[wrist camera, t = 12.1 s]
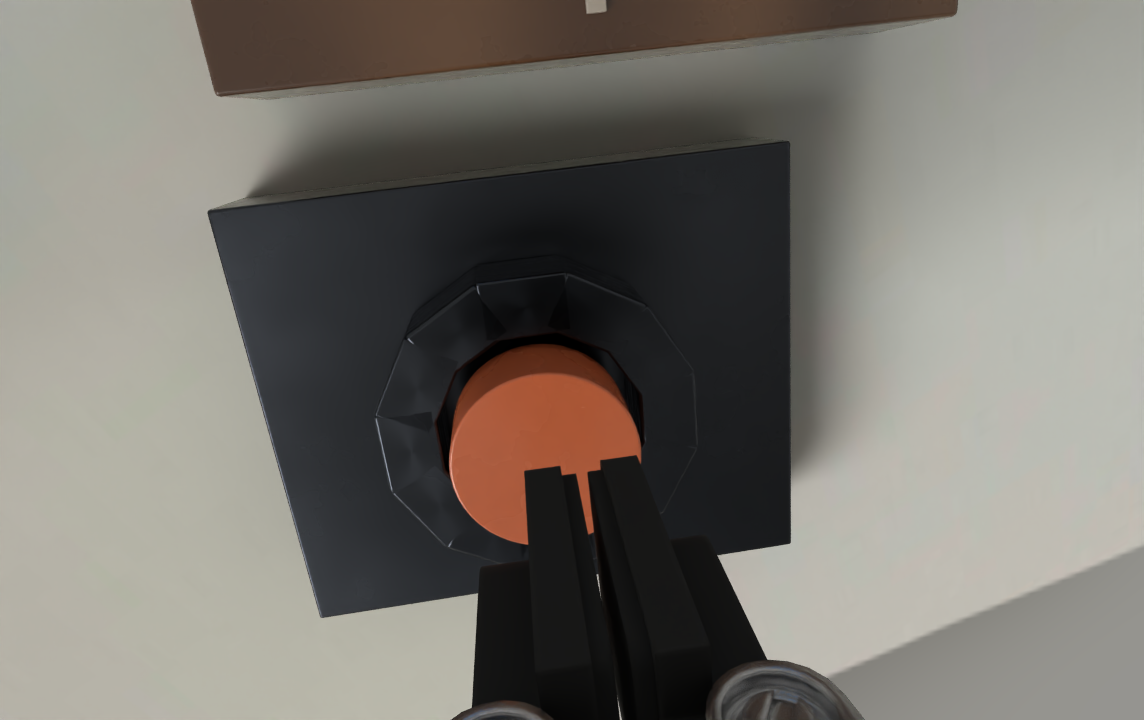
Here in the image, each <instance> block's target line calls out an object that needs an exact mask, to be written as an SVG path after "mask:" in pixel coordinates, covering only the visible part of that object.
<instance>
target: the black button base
mask: <svg viewBox="0 0 1144 720" xmlns="http://www.w3.org/2000/svg"><path fill="white" fill-rule="evenodd" d="M208 217H209V220H210V224H211V227H212V231H213V234H214V238H215V242H216V245H217V249H218V252H219V256H220V260H221V263H222V267H223V270H224V274H225V277H226V281H227V285H228V288H229V292H230V295H231V299H232V302H233V306H234V310H235V313H236V317H237V320H238V324H239V327H240V331H241V335H242V338H243V342H244V345H245V349H246V353H247V356H248V360H249V363H250V367H251V370H252V374H253V378H254V381H255V385H256V388H257V392H258V395H259V399H260V403H261V406H262V410H263V413H264V417H265V420H266V424H267V428H268V431H269V435H270V438H271V442H272V446H273V449H274V453H275V456H276V460H277V463H278V467H279V471H280V474H281V478H282V481H283V485H284V488H285V492H286V496H287V499H288V503H289V506H290V510H291V513H292V517H293V521H294V524H295V528H296V531H297V535H298V539H299V542H300V546H301V549H302V553H303V556H304V560H305V564H306V567H307V571H308V574H309V578H310V581H311V585H312V589H313V592H314V596H315V599H316V603H317V606H318V610H319V614H320V617H321V618H324V617H331V616H337V615H343V614H350V613H356V612H362V611H369V610H375V609H381V608H388V607H394V606H400V605H406V604H413V603H419V602H425V601H432V600H438V599H444V598H451V597H457V596H463V595H470V594H476V593H478V589H479V574H480V568H481V567H483V566H490V565H497V564H504V563H511V562H518V561H525V560H529V551H528V545H527V544H521V543H517V542H513V541H509V540H507V539H504V538H501V537H499V536H497V535H495V534H493V533H491V532H490V531H488V530H487V529H485V528H484V527H482V526H481V525H480V524H479V523H477V522H476V521H475V520H474V519H473V518H472V517H471V516H470V515H469V513H468V512H467V511H466V510H465V509H464V507H463V506H462V504H461V502H460V501H459V499H458V497H457V495H456V493H455V490H454V488H453V485H452V481H451V477H450V469H449V453H450V445H451V437H452V429H453V421H454V414H455V409H456V405H457V402H458V399H459V396H460V394H461V392H462V390H463V388H464V386H465V385H466V384H467V382H468V381H469V379H470V378H471V377H472V376H473V374H474V373H475V372H476V371H477V370H478V369H479V368H480V367H481V366H483V365H484V364H485V363H486V362H487V361H489V360H491V359H492V358H494V357H495V356H497V355H499V354H501V353H503V352H505V351H507V350H510V349H513V348H516V347H520V346H525V345H530V344H555V345H560V346H565V347H569V348H572V349H575V350H577V351H579V352H582V353H584V354H586V355H588V356H589V357H591V358H592V359H594V360H595V361H596V362H598V363H599V364H600V365H601V366H602V367H604V369H605V370H606V371H607V372H608V373H609V374H610V375H611V377H612V378H613V380H614V381H615V383H616V384H617V386H618V388H619V390H620V392H621V395H622V397H623V399H624V401H625V403H626V405H627V408H628V410H629V412H630V414H631V416H632V418H633V420H634V423H635V425H636V427H637V430H638V434H639V437H640V443H641V467H642V469H643V472H644V475H645V477H646V480H647V482H648V485H649V488H650V490H651V493H652V495H653V498H654V500H655V503H656V506H657V508H658V511H659V513H660V516H661V519H662V521H663V524H664V526H665V529H666V531H667V534H668V537H669V539H676V538H683V537H690V536H697V535H706V536H707V537H708V538H709V540H710V542H711V544H712V546H713V548H714V550H715V552H716V554H717V555H722V554H728V553H735V552H741V551H747V550H754V549H760V548H766V547H773V546H779V545H785V544H790V543H791V410H790V142H789V141H784V140H773V139H763V138H745V139H737V140H728V141H720V142H712V143H703V144H695V145H686V146H678V147H670V148H661V149H653V150H644V151H636V152H627V153H619V154H611V155H602V156H594V157H585V158H577V159H569V160H560V161H552V162H543V163H535V164H527V165H518V166H510V167H501V168H493V169H485V170H476V171H468V172H459V173H451V174H442V175H434V176H426V177H417V178H409V179H400V180H392V181H384V182H375V183H367V184H358V185H350V186H342V187H333V188H325V189H316V190H308V191H300V192H291V193H283V194H274V195H266V196H257V197H249V198H243V199H240V200H237V201H234V202H231V203H228V204H225V205H223V206H220V207H217V208H214V209H211V210H209V211H208ZM588 536H589V541H590V546H591V551H592V556H593V561H594V566H595V571H596V574H598V565H597V556H596V547H595V538H594V532H593V533H591V534H589V535H588Z"/></svg>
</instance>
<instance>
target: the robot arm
mask: <svg viewBox="0 0 1144 720" xmlns="http://www.w3.org/2000/svg"><path fill="white" fill-rule="evenodd" d="M587 474H588V485H589V494H590V503H591V512H592V521H593V529H594V538H595V547H596V556H597V565H598V574H599V583H600V591H599V586H598V581H597V576H596V571H595V566H594V561H593V556H592V551H591V546H590V541H589V536H588V531H587V526H586V521H585V516H584V511H583V506H582V501H581V495H580V490H579V485H578V480H577V475H576V473H574V474H567V475H562V473H561V467H560V466H554V467H547V468H540V469H533V470H525V471H524V478H525V496H526V514H527V533H528V551H529V560H525V561H518V562H511V563H504V564H497V565H490V566H483V567H481V568H480V574H479V589H478V607H477V626H476V644H475V663H474V681H473V699H472V708H471V709H468V710H466V711H463V712H461V713H460V714H459V715H457V716H456V717H454V718H453V719H452V720H620V717H619V708H618V702H619V707H620V712H621V718H622V720H865V719H864V718H863V717H862V715H861V714H860V713H859V712H858V710H857V709H856V708H855V707H854V706H853V704H852V703H851V702H850V700H849V699H848V698H847V697H846V695H845V694H844V693H843V692H842V691H841V690H839V689H838V687H836V686H835V685H834V684H833V683H832V682H831V681H830V680H829V679H828V678H826V677H824V676H822V675H821V674H819V673H817V672H815V671H814V670H812V669H810V668H807V667H804V666H801V665H798V664H795V663H791V662H788V661H777V660H767V658H766V656H765V654H764V652H763V650H762V648H761V646H760V644H759V642H758V640H757V637H756V635H755V633H754V631H753V629H752V627H751V625H750V623H749V621H748V619H747V617H746V615H745V612H744V610H743V608H742V606H741V604H740V602H739V600H738V598H737V596H736V594H735V592H734V590H733V587H732V585H731V583H730V581H729V579H728V577H727V575H726V573H725V571H724V569H723V567H722V564H721V562H720V560H719V558H718V556H717V554H716V552H715V550H714V548H713V546H712V544H711V542H710V540H709V538H708V537H707V536H706V535H697V536H690V537H683V538H676V539H669V537H668V534H667V531H666V529H665V526H664V524H663V521H662V519H661V516H660V513H659V511H658V508H657V506H656V503H655V500H654V498H653V495H652V493H651V490H650V488H649V485H648V482H647V480H646V477H645V475H644V472H643V469H642V467H641V464H640V462H639V459H638V457H637V455H633V456H626V457H619V458H612V459H605V460H600V470H596V471H589V472H587ZM600 592H601V596H600ZM617 697H618V699H617Z"/></svg>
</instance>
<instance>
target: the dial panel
mask: <svg viewBox="0 0 1144 720" xmlns="http://www.w3.org/2000/svg"><path fill="white" fill-rule="evenodd" d="M191 4H192V8H193V11H194V15H195V19H196V23H197V27H198V31H199V34H200V38H201V42H202V46H203V50H204V54H205V57H206V61H207V65H208V69H209V73H210V77H211V80H212V84H213V88H214V92H215V94H216V95H217V96H220V97H234V98H250V99H266V100H268V99H277V98H286V97H295V96H304V95H313V94H322V93H331V92H341V91H350V90H359V89H368V88H377V87H386V86H395V85H404V84H413V83H422V82H431V81H440V80H449V79H459V78H468V77H477V76H486V75H495V74H504V73H513V72H522V71H531V70H540V69H549V68H558V67H568V66H577V65H586V64H595V63H604V62H613V61H622V60H631V59H640V58H649V57H658V56H667V55H676V54H686V53H695V52H704V51H713V50H722V49H731V48H740V47H749V46H758V45H767V44H776V43H785V42H794V41H804V40H813V39H822V38H831V37H840V36H849V35H858V34H867V33H876V32H881V31H886V30H891V29H896V28H900V27H905V26H910V25H915V24H919V23H924V22H929V21H934V20H939V19H943V18H948V17H952V16H954V15H956V13H957V8H958V0H191Z"/></svg>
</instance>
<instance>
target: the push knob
mask: <svg viewBox="0 0 1144 720" xmlns="http://www.w3.org/2000/svg"><path fill="white" fill-rule="evenodd" d="M633 455H637V457H638V459H639V462H640V464H641V443H640V437H639V434H638V430H637V427H636V425H635V423H634V420H633V418H632V416H631V414H630V412H629V410H628V408H627V405H626V403H625V401H624V399H623V397H622V395H621V392H620V390H619V388H618V386H617V384H616V383H615V381H614V380H613V378H612V377H611V375H610V374H609V373H608V372H607V371H606V370H605V369H604V367H602V366H601V365H600V364H599V363H598V362H596V361H595V360H594V359H592V358H591V357H589V356H588V355H586V354H584V353H582V352H579V351H577V350H575V349H572V348H569V347H565V346H560V345H555V344H530V345H525V346H520V347H516V348H513V349H510V350H507V351H505V352H503V353H501V354H499V355H497V356H495V357H494V358H492V359H491V360H489V361H487V362H486V363H485V364H484V365H483V366H481V367H480V368H479V369H478V370H477V371H476V372H475V373H474V374H473V376H472V377H471V378H470V379H469V381H468V382H467V384H466V385H465V386H464V388H463V390H462V392H461V394H460V396H459V399H458V402H457V405H456V409H455V414H454V421H453V429H452V437H451V445H450V453H449V469H450V477H451V481H452V485H453V488H454V490H455V493H456V495H457V497H458V499H459V501H460V502H461V504H462V506H463V507H464V509H465V510H466V511H467V512H468V513H469V515H470V516H471V517H472V518H473V519H474V520H475V521H476V522H477V523H479V524H480V525H481V526H482V527H484V528H485V529H487V530H488V531H490V532H491V533H493V534H495V535H497V536H499V537H501V538H504V539H507V540H509V541H513V542H517V543H521V544H527V545H528V533H527V514H526V496H525V478H524V471H525V470H533V469H540V468H547V467H554V466H560V467H561V473H562V475H567V474H574V473H576V475H577V480H578V485H579V490H580V495H581V501H582V506H583V511H584V516H585V521H586V526H587V531H588V535H589V534H591V533H593V532H594V529H593V521H592V512H591V503H590V494H589V485H588V474H587V472H589V471H596V470H600V460H605V459H612V458H619V457H626V456H633Z"/></svg>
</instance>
